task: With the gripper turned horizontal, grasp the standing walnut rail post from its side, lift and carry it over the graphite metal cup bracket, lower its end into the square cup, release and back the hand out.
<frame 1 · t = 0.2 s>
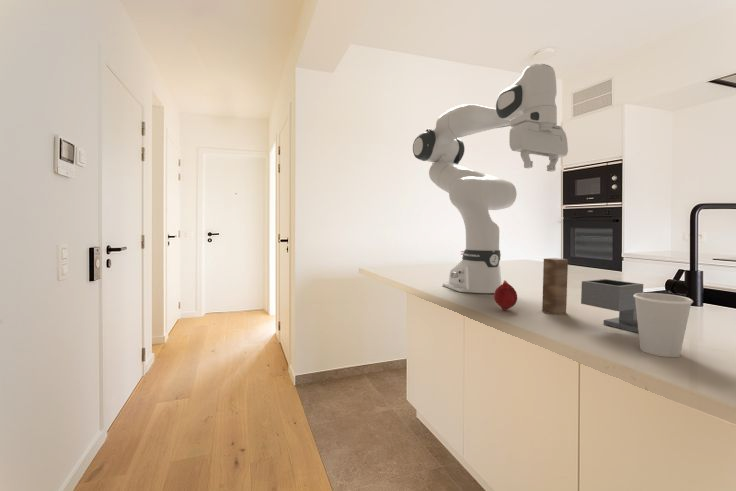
hand: (539, 169, 105), 39 cm above the countertop, tool pointing down, fingers open, 8 cm apart
cup bracket: (610, 330, 80), on the countertop
rail post: (554, 312, 97), on the countertop
dixie cup: (659, 352, 67), on the countertop
onion: (505, 310, 99), on the countertop
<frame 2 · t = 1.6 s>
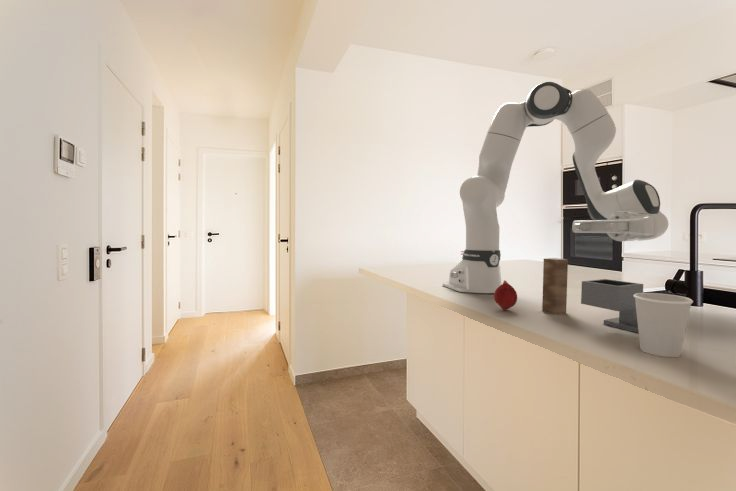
hand: (592, 226, 101), 22 cm above the countertop, tool horizontal, fingers open, 8 cm apart
nothing on the countertop moved.
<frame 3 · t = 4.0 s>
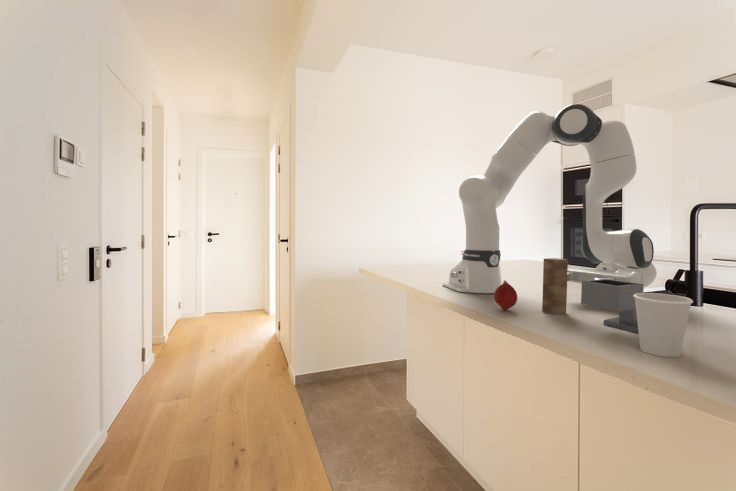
hand: (579, 279, 100), 8 cm above the countertop, tool horizontal, fingers open, 8 cm apart
nothing on the countertop moved.
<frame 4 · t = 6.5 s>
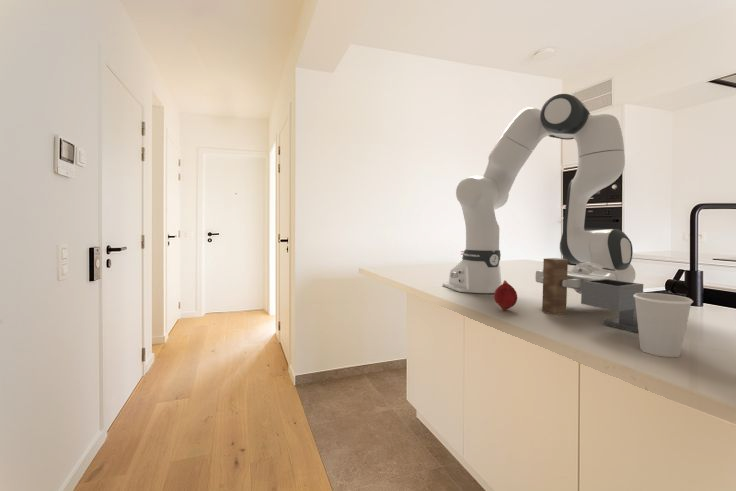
hand: (552, 281, 96), 8 cm above the countertop, tool horizontal, fingers closed on rail post, 4 cm apart
rail post: (554, 312, 97), on the countertop, touching gripper
everything else where it was.
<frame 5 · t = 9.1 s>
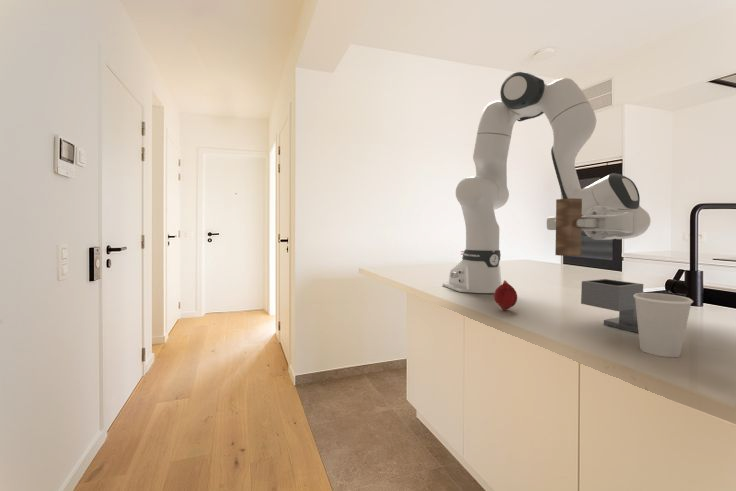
hand: (566, 223, 91), 23 cm above the countertop, tool horizontal, fingers closed on rail post, 4 cm apart
rail post: (567, 255, 92), point 15 cm above the countertop, touching gripper
everything else where it was.
when the fingers open (15 cm above the countertop, at t = 12.0 s): rail post stays where it is, resting on cup bracket.
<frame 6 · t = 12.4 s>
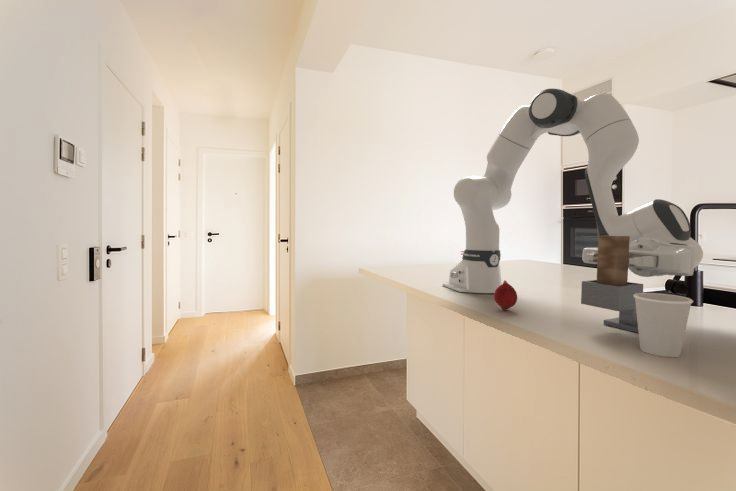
hand: (610, 259, 78), 15 cm above the countertop, tool horizontal, fingers open, 8 cm apart
rail post: (610, 300, 79), point 7 cm above the countertop, touching cup bracket
everything else where it was.
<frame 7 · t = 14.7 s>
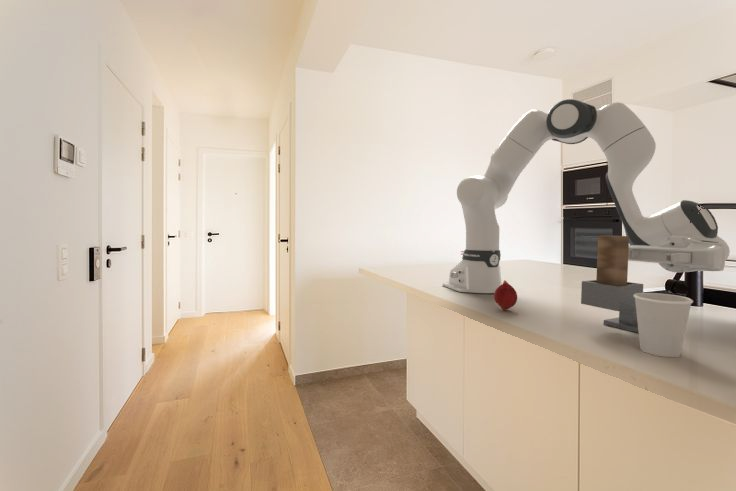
hand: (645, 256, 84), 16 cm above the countertop, tool horizontal, fingers open, 8 cm apart
nothing on the countertop moved.
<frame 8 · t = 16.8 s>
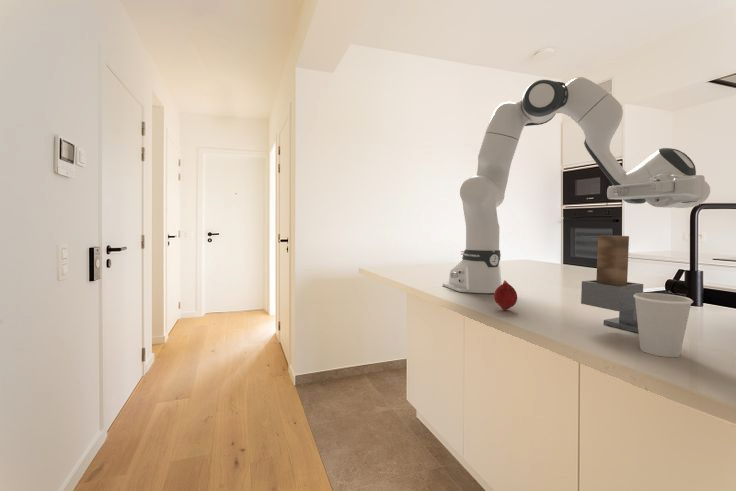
hand: (633, 188, 93), 32 cm above the countertop, tool horizontal, fingers open, 8 cm apart
nothing on the countertop moved.
at the end: rail post 0.1 cm off-centre on the cup bracket, point 6.5 cm above the cup bracket's base; rail post tilted 0°; the gripper is holding nothing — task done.
